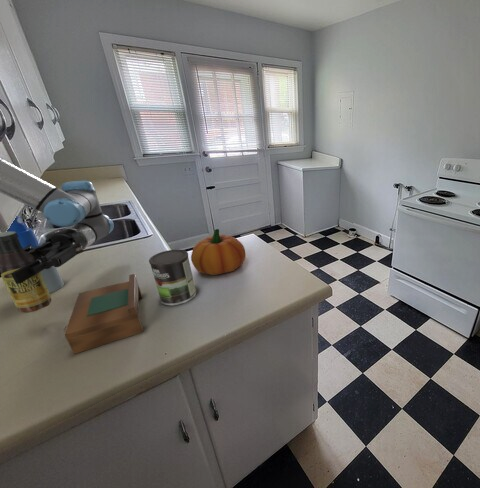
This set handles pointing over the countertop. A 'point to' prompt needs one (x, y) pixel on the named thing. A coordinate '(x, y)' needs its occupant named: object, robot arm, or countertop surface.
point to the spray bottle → (28, 238)
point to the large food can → (173, 276)
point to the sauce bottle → (31, 290)
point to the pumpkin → (218, 254)
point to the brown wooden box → (104, 316)
